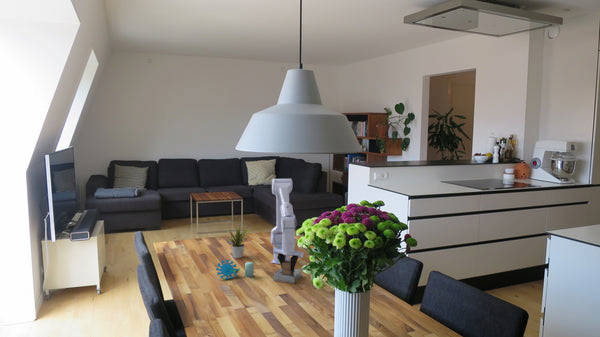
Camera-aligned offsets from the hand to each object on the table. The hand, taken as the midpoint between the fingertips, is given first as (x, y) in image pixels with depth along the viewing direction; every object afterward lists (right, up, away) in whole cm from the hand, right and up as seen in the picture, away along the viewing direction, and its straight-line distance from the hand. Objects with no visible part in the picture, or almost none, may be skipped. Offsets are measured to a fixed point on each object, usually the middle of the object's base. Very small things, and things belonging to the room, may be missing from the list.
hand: (288, 270), depth 203 cm
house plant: (-26, 0, +30) cm, 40 cm away
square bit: (0, -2, 0) cm, 2 cm away
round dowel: (-18, -3, +3) cm, 19 cm away
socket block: (0, -4, 0) cm, 4 cm away
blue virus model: (-28, -4, +1) cm, 28 cm away
